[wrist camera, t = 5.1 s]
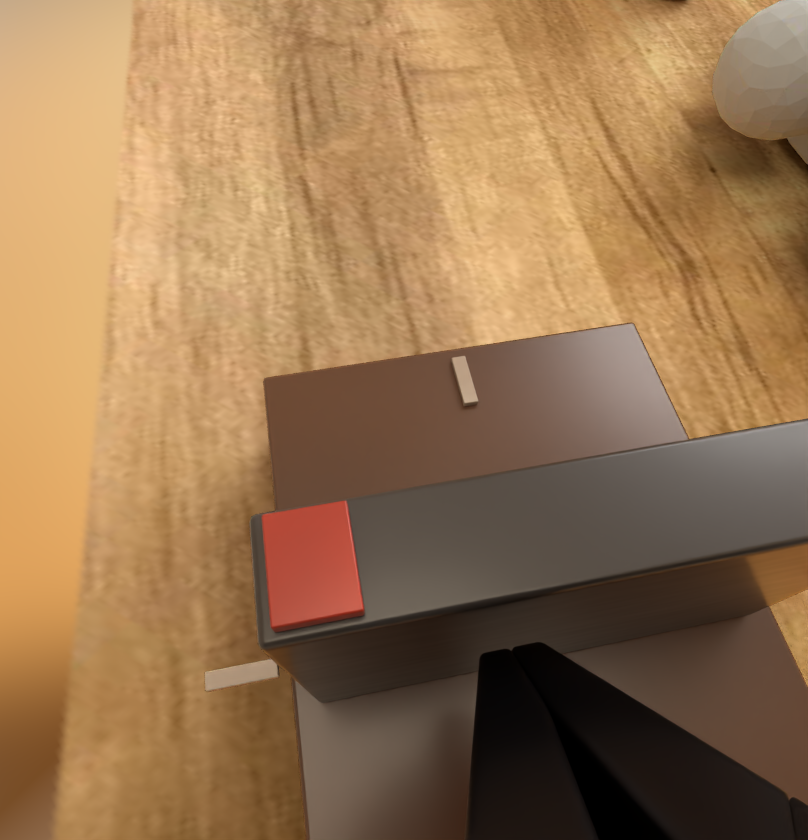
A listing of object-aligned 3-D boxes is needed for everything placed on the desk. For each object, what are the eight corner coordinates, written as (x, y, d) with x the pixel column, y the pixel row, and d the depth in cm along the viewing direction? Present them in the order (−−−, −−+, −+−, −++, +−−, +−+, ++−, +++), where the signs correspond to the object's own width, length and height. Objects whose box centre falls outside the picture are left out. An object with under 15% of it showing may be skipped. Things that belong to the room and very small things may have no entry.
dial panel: (913, 933, 13) (1058, 979, 10) (263, 1110, 11) (219, 1222, 8) (650, 374, 19) (692, 308, 17) (227, 442, 18) (195, 382, 15)
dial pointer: (718, 541, 13) (935, 386, 8) (752, 614, 13) (1017, 497, 7) (309, 620, 13) (242, 505, 7) (318, 704, 12) (252, 648, 6)
